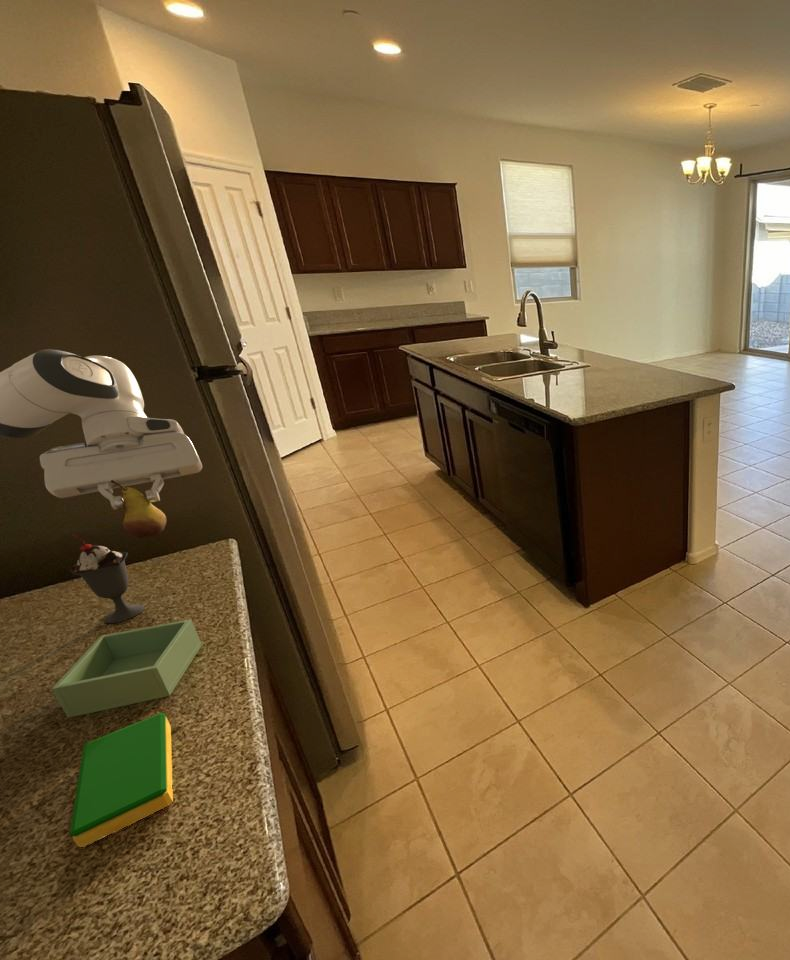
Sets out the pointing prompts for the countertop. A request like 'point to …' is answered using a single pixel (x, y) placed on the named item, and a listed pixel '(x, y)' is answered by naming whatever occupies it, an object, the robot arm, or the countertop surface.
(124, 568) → the sundae
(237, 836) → the countertop surface
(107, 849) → the countertop surface
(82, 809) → the dish sponge
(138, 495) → the fruit
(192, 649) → the bin
